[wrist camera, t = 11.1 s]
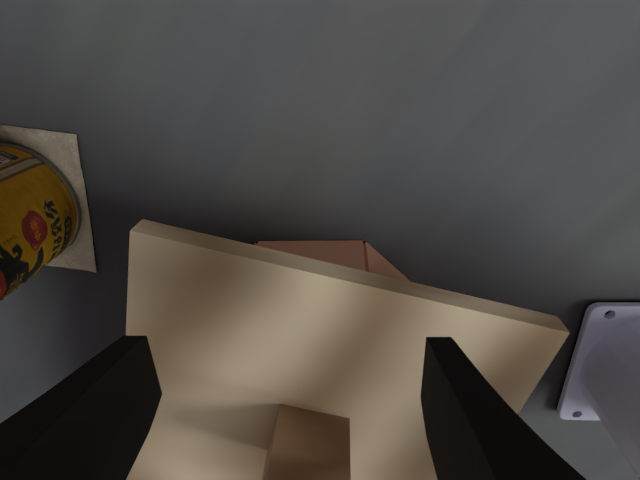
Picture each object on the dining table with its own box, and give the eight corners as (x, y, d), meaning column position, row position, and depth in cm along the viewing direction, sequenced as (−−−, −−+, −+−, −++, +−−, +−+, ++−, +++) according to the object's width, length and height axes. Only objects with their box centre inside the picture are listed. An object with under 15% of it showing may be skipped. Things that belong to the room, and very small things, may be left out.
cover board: (557, 316, 16) (651, 440, 11) (418, 545, 23) (438, 684, 18) (142, 218, 15) (46, 308, 10) (127, 488, 22) (66, 618, 17)
